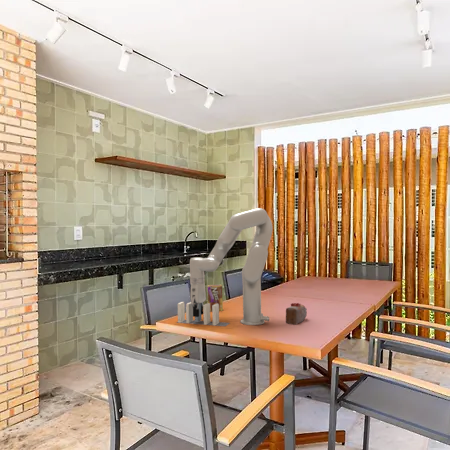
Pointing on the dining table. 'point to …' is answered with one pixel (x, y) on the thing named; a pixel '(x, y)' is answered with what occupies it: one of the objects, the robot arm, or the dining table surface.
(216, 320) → the domino
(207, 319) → the domino
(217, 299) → the candy box
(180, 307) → the domino
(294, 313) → the food item
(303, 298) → the dining table surface
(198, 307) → the slate domino
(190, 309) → the domino
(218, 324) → the mat
